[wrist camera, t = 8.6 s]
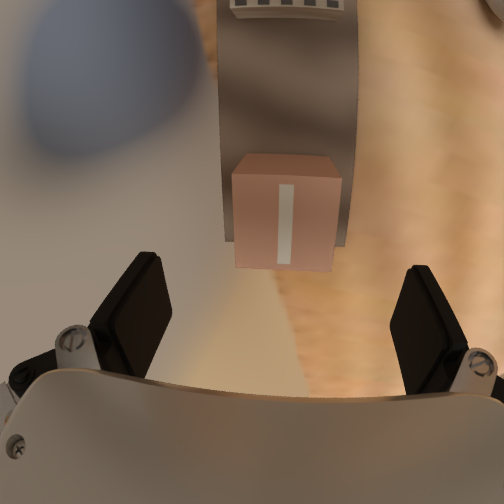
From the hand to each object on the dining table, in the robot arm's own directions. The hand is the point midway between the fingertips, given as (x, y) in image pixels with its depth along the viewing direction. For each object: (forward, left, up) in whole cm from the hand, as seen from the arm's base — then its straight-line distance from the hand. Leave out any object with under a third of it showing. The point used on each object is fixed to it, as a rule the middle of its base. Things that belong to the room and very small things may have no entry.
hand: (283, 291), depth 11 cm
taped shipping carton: (+1, 0, -13) cm, 13 cm away
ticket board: (-13, 0, -14) cm, 19 cm away
